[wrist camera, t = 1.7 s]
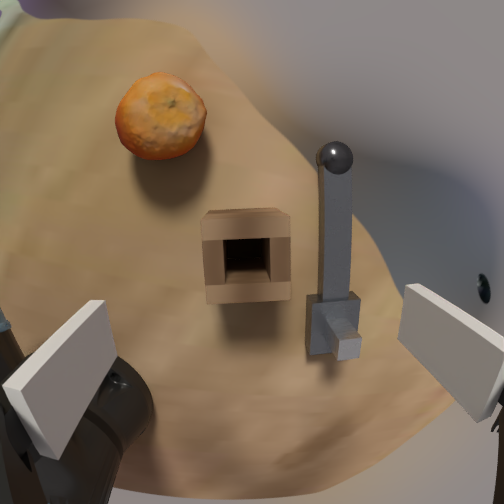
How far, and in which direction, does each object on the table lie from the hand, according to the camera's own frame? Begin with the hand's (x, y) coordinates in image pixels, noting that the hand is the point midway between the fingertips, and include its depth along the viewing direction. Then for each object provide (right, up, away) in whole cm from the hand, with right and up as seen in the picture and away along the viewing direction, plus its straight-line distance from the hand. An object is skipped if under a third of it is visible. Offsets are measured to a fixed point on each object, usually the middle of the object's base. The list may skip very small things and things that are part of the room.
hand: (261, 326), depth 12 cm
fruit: (-9, +15, +15) cm, 23 cm away
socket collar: (-1, +4, +18) cm, 19 cm away
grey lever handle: (+8, +3, +19) cm, 21 cm away
